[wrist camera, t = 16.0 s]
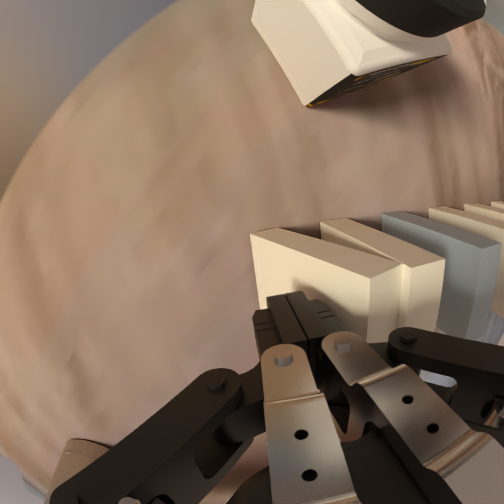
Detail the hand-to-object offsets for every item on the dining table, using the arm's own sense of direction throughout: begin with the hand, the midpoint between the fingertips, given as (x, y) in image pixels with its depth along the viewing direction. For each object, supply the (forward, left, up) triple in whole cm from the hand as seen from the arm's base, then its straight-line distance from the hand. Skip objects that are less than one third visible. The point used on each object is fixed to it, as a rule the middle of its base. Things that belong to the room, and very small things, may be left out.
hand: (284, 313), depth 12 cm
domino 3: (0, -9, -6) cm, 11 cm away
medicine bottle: (+14, -6, -6) cm, 16 cm away
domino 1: (0, 0, -6) cm, 6 cm away
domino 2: (0, -5, -6) cm, 8 cm away
